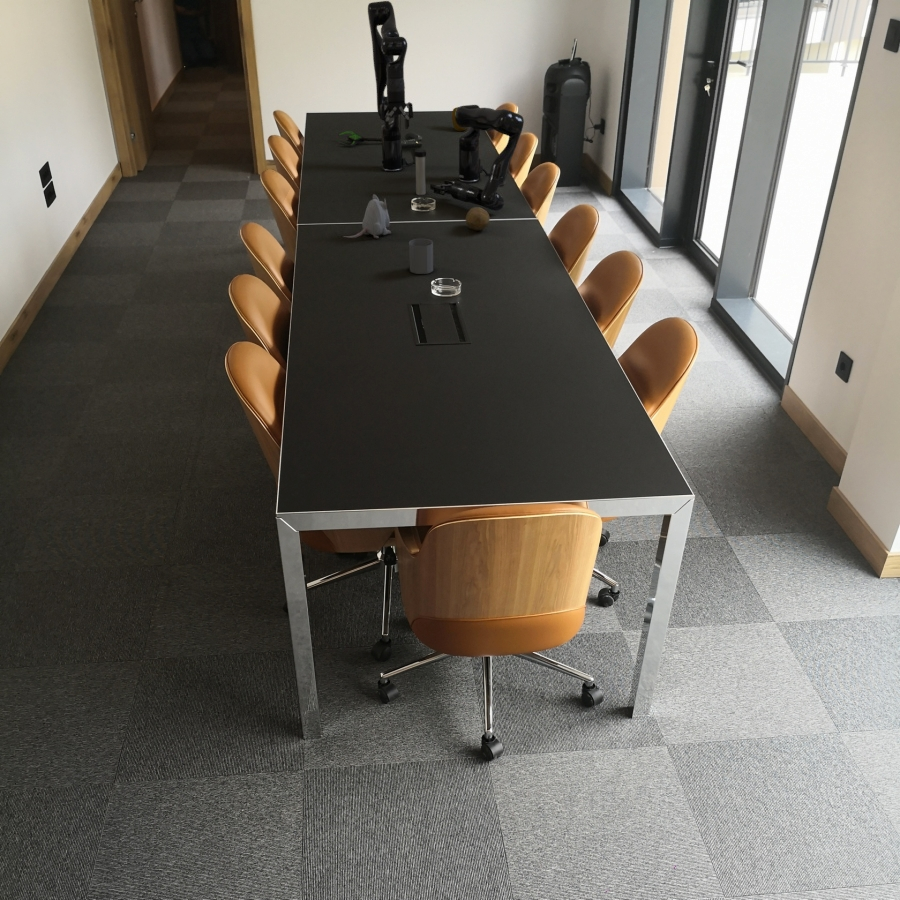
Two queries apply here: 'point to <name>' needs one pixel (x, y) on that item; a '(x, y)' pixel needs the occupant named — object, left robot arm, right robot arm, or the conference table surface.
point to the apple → (456, 122)
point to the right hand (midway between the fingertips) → (437, 184)
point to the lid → (420, 153)
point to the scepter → (357, 139)
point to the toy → (375, 219)
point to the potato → (477, 218)
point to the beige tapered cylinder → (420, 176)
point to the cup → (421, 256)
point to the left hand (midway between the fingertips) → (396, 129)
